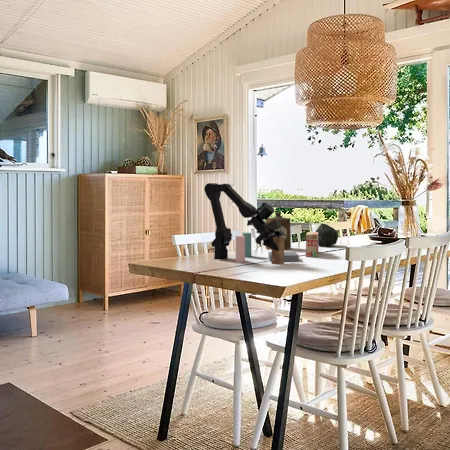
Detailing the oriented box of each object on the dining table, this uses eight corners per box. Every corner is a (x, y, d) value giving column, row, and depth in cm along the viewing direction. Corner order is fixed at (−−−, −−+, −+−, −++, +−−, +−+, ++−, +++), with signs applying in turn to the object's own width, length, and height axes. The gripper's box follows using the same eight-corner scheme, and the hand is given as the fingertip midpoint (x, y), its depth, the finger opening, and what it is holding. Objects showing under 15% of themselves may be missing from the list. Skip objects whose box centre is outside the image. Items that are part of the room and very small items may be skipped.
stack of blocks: (307, 252, 310) (307, 230, 309) (318, 252, 309) (318, 230, 308) (305, 257, 289) (305, 233, 288) (317, 257, 288) (317, 234, 287)
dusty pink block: (235, 262, 269) (235, 236, 268) (235, 260, 274) (235, 236, 273) (244, 262, 269) (245, 236, 268) (244, 260, 274) (244, 236, 273)
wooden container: (262, 249, 324) (262, 212, 323) (270, 246, 338) (270, 211, 336) (286, 250, 319) (286, 212, 317) (293, 247, 332) (293, 211, 331)
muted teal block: (242, 256, 289) (242, 233, 288) (242, 255, 294) (242, 232, 293) (251, 256, 289) (251, 233, 288) (251, 255, 294) (251, 232, 293)
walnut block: (271, 263, 264) (271, 237, 263) (276, 262, 268) (276, 237, 267) (279, 264, 261) (279, 238, 260) (284, 263, 265) (284, 237, 264)
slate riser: (270, 261, 271) (270, 255, 271) (268, 257, 285) (268, 252, 285) (298, 261, 271) (298, 255, 271) (295, 257, 285) (295, 252, 285)
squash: (345, 237, 342) (330, 218, 346) (337, 240, 329) (321, 221, 333) (329, 251, 348) (314, 232, 352) (320, 254, 336) (305, 235, 340)
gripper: (261, 215, 257) (281, 240, 252) (280, 214, 273) (300, 237, 267) (246, 231, 262) (266, 256, 257) (266, 229, 278) (285, 252, 272)
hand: (280, 250), depth 263 cm, fingers closed on walnut block, 4 cm apart
